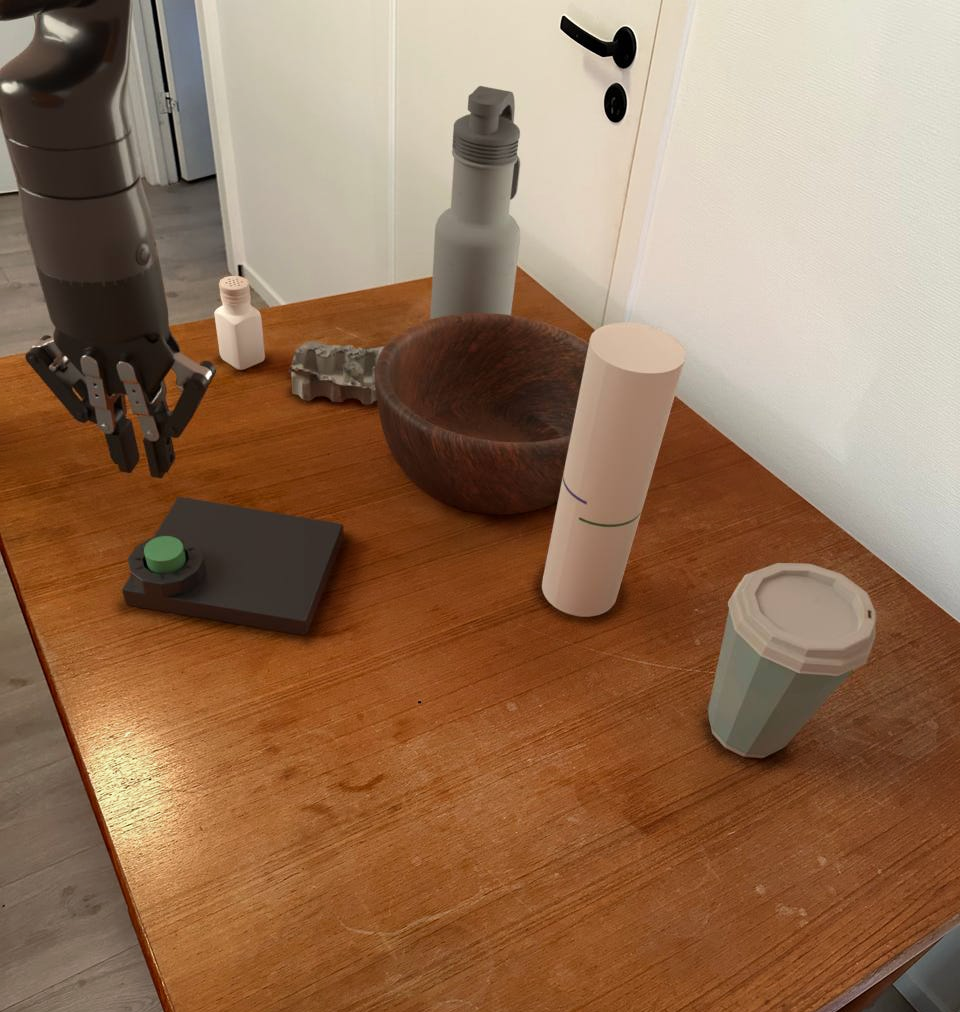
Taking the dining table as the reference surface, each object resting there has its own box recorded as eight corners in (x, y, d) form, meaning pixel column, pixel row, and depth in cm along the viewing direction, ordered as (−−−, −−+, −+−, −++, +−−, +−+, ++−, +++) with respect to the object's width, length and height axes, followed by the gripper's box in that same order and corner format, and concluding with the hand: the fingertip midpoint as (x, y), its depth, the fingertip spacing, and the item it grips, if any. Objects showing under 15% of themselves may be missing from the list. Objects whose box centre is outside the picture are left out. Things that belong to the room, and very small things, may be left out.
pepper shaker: (218, 359, 105) (207, 280, 98) (245, 347, 107) (237, 270, 100) (240, 373, 103) (230, 294, 96) (267, 361, 105) (260, 283, 98)
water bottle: (442, 316, 116) (458, 70, 96) (515, 332, 115) (547, 87, 95) (418, 354, 110) (430, 98, 89) (495, 371, 109) (525, 117, 88)
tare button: (141, 570, 76) (137, 557, 75) (155, 546, 79) (152, 533, 77) (177, 577, 76) (174, 563, 75) (191, 552, 78) (188, 539, 77)
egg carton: (287, 400, 101) (284, 368, 98) (298, 365, 106) (295, 333, 103) (382, 409, 101) (382, 376, 98) (388, 373, 106) (388, 341, 103)
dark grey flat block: (124, 605, 78) (116, 576, 75) (180, 511, 87) (174, 482, 84) (306, 636, 77) (303, 608, 75) (343, 538, 86) (342, 510, 83)
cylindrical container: (576, 553, 88) (630, 313, 69) (632, 593, 85) (705, 353, 66) (526, 585, 84) (569, 340, 66) (583, 628, 81) (645, 384, 62)
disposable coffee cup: (675, 758, 72) (731, 632, 61) (690, 663, 79) (742, 534, 68) (807, 795, 71) (888, 672, 60) (810, 694, 78) (883, 569, 67)
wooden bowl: (595, 554, 88) (616, 469, 80) (346, 509, 89) (344, 420, 81) (612, 414, 105) (631, 333, 97) (403, 377, 106) (406, 294, 98)
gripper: (220, 241, 60) (247, 455, 72) (20, 210, 60) (81, 428, 73) (179, 293, 55) (215, 513, 67) (-40, 258, 55) (37, 484, 68)
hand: (145, 468), depth 70 cm, fingers closed
